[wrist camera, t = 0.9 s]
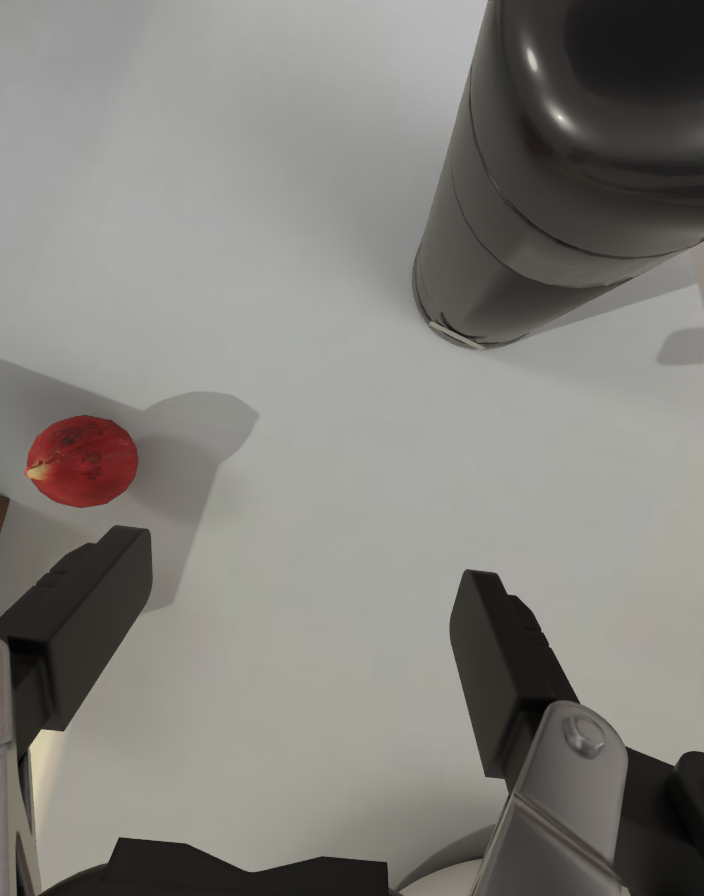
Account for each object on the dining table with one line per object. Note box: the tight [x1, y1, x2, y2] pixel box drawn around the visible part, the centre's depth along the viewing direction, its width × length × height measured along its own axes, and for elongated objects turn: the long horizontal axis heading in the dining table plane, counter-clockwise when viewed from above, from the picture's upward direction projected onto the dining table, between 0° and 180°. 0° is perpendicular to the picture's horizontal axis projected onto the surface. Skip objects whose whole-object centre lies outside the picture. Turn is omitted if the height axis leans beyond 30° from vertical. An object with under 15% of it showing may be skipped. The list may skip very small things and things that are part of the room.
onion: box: [24, 415, 138, 508], centre depth 27 cm, size 6×6×8 cm
